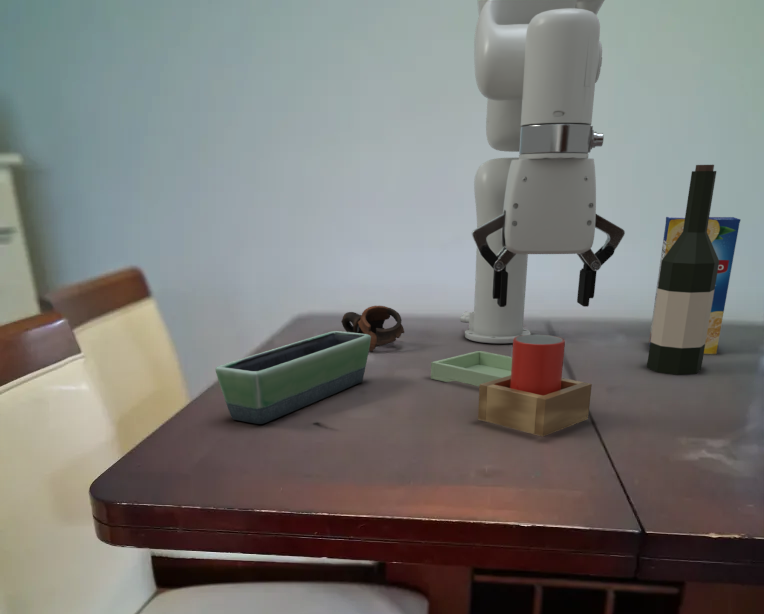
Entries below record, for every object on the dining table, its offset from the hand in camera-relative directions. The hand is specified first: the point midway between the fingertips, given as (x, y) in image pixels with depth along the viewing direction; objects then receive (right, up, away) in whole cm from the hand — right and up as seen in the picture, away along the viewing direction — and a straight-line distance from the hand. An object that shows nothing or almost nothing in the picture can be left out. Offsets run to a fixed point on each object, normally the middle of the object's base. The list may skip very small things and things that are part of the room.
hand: (542, 305), depth 88 cm
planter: (-30, -9, +17) cm, 36 cm away
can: (0, -13, +6) cm, 14 cm away
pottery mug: (-21, +6, +50) cm, 55 cm away
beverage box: (+35, +4, +46) cm, 58 cm away
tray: (-2, -4, +26) cm, 27 cm away
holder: (0, -13, +6) cm, 15 cm away
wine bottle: (+28, -2, +32) cm, 43 cm away
